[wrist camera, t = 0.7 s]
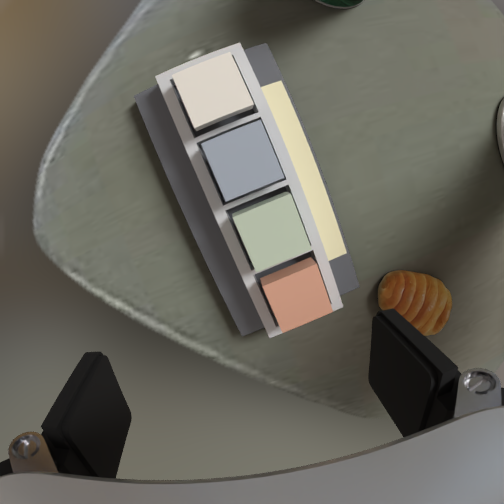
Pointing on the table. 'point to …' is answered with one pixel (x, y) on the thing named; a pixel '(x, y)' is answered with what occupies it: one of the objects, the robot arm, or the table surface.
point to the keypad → (220, 211)
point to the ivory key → (213, 91)
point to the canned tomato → (340, 3)
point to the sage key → (272, 231)
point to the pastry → (416, 299)
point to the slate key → (242, 160)
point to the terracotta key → (297, 294)
